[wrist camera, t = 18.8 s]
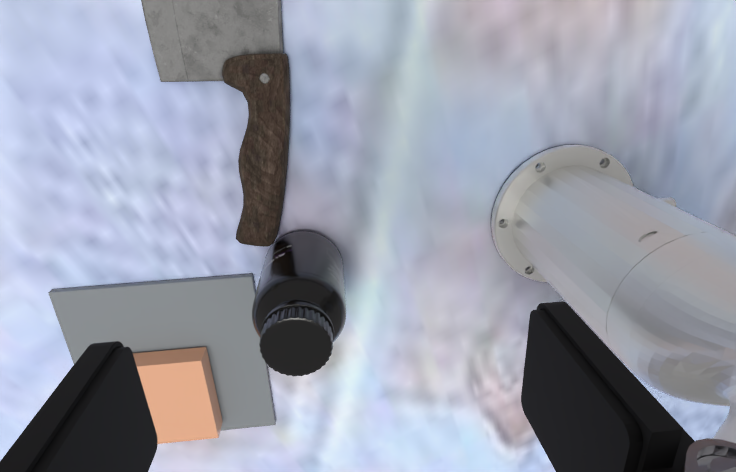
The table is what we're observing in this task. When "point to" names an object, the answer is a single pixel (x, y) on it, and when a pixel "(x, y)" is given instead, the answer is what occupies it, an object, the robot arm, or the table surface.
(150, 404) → the tile
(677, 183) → the table surface
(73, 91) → the table surface
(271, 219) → the cleaver
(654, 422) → the robot arm
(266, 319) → the supplement bottle
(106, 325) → the slate mat
